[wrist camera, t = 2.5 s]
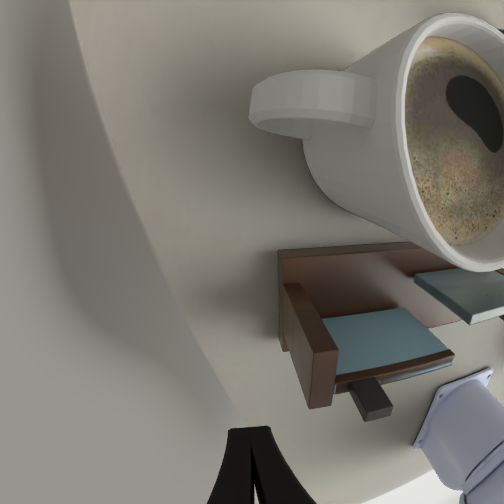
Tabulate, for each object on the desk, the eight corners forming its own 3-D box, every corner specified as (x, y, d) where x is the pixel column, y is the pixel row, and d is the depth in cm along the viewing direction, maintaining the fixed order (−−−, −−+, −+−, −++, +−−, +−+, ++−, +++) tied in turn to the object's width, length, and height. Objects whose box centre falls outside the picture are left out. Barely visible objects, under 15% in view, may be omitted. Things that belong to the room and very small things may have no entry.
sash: (402, 315, 18) (473, 387, 11) (304, 330, 17) (347, 427, 10) (404, 306, 18) (477, 376, 10) (304, 319, 17) (350, 416, 10)
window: (467, 308, 21) (530, 356, 13) (278, 339, 20) (306, 431, 12) (481, 236, 19) (557, 271, 11) (277, 249, 18) (315, 317, 10)
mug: (451, 151, 17) (572, 165, 7) (363, 253, 18) (467, 335, 9) (344, 22, 14) (434, -61, 5) (232, 121, 16) (241, 69, 6)
